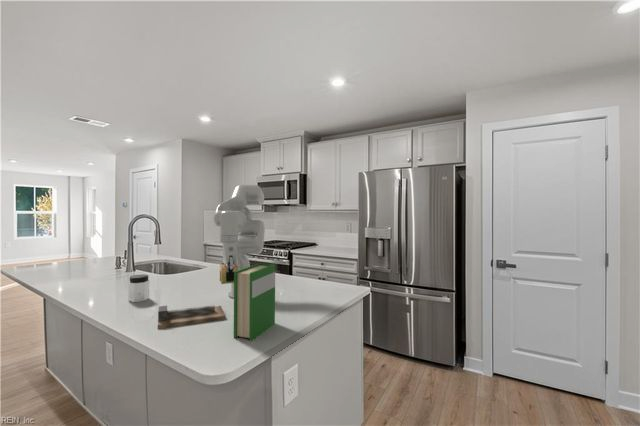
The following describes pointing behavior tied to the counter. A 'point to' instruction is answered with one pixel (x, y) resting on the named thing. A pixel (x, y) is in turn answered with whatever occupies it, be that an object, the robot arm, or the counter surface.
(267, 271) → the hardback book
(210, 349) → the counter surface
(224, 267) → the wooden block
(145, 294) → the jar
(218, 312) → the rail board
